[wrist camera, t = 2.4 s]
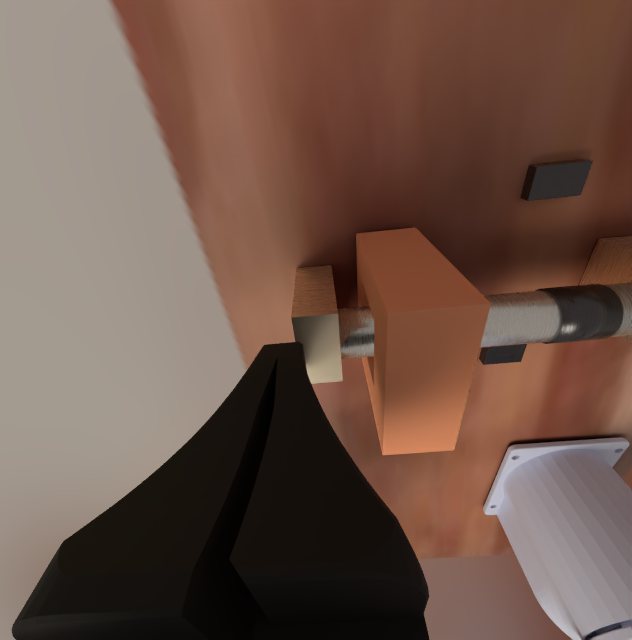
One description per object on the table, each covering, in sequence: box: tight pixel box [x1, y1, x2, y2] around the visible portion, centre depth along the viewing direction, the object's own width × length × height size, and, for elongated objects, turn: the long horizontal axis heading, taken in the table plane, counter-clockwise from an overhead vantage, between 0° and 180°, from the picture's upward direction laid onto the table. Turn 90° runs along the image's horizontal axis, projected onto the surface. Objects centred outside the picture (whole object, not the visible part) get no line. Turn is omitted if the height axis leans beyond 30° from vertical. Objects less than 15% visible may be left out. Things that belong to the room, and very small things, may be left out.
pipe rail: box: [291, 160, 632, 384], centre depth 13 cm, size 15×10×4 cm, turn 96°
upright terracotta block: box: [356, 227, 491, 455], centre depth 12 cm, size 2×6×6 cm, turn 6°
